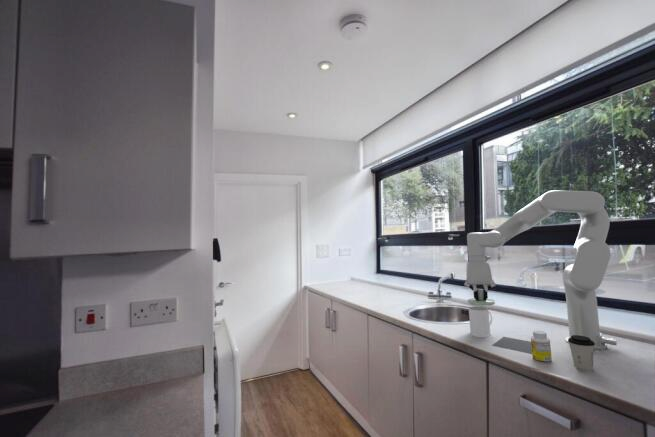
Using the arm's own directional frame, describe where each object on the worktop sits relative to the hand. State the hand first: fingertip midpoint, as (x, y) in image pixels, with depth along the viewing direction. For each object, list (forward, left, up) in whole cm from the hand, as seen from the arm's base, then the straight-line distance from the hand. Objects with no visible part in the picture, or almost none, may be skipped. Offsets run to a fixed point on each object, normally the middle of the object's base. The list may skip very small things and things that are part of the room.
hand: (480, 299), depth 139 cm
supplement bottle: (-26, +17, -16) cm, 35 cm away
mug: (0, 0, -16) cm, 16 cm away
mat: (-15, +6, -16) cm, 22 cm away
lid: (0, 0, -1) cm, 1 cm away
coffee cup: (-37, +15, -16) cm, 43 cm away
